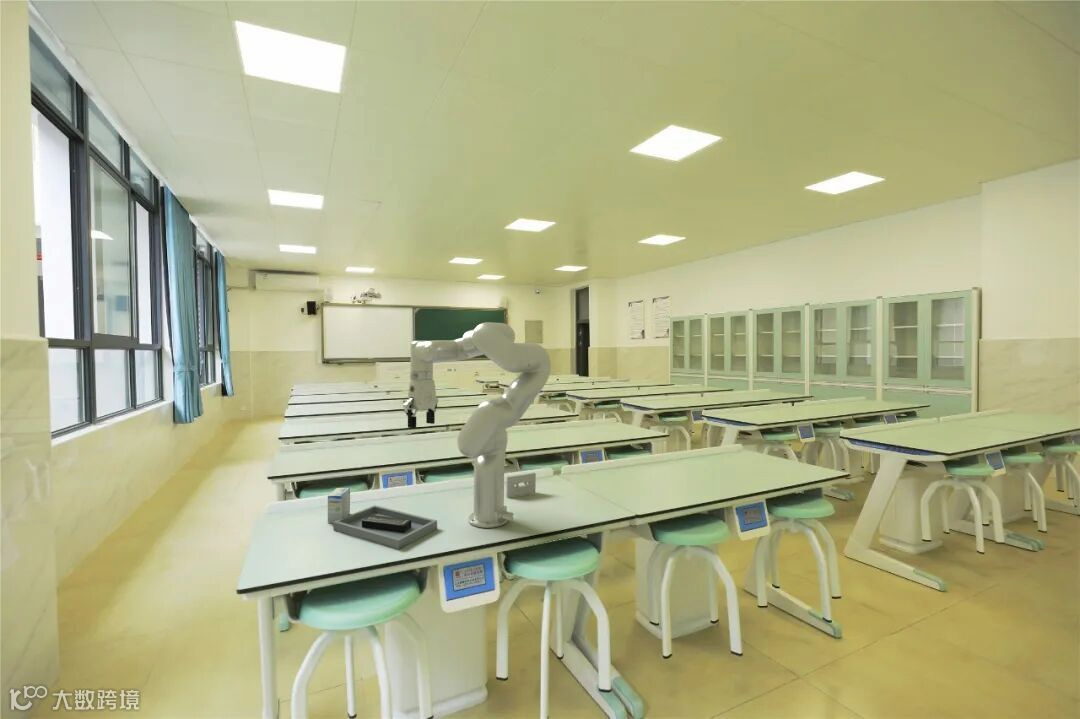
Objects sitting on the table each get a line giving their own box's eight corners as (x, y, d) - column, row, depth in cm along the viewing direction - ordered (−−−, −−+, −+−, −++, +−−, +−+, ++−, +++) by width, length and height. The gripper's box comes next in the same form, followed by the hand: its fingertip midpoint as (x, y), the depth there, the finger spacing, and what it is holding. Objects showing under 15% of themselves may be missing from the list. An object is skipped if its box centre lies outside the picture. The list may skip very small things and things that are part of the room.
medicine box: (336, 513, 152) (336, 487, 151) (350, 513, 152) (350, 487, 152) (327, 523, 144) (327, 495, 144) (342, 523, 144) (342, 495, 144)
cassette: (507, 498, 169) (507, 477, 169) (505, 497, 171) (505, 476, 170) (536, 493, 175) (536, 473, 175) (533, 492, 177) (534, 472, 176)
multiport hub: (370, 521, 144) (370, 514, 144) (412, 527, 141) (412, 519, 140) (361, 527, 140) (361, 519, 140) (404, 533, 136) (404, 525, 136)
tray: (437, 528, 141) (437, 520, 141) (398, 549, 127) (398, 540, 127) (374, 512, 153) (374, 505, 153) (333, 530, 139) (333, 521, 139)
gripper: (413, 378, 151) (413, 431, 152) (445, 375, 167) (445, 422, 168) (395, 377, 155) (395, 428, 155) (429, 374, 170) (428, 420, 171)
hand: (421, 425), depth 162 cm, fingers open, 9 cm apart
